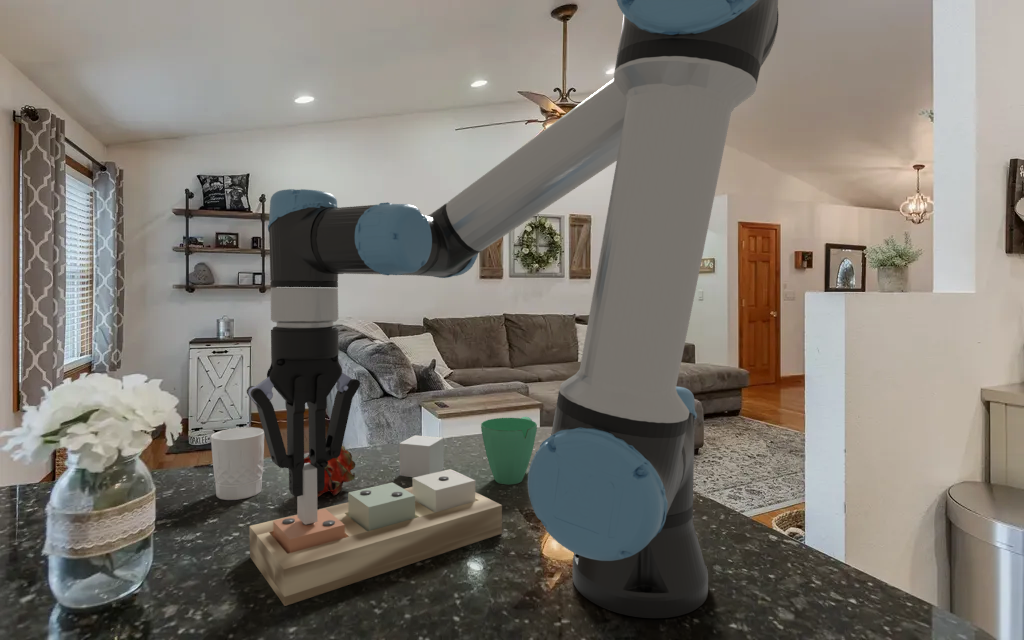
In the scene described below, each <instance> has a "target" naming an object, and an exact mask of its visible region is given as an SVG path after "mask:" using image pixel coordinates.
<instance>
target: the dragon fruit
mask: <svg viewBox="0 0 1024 640" xmlns="http://www.w3.org/2000/svg"><path fill="white" fill-rule="evenodd" d="M352 457H353V454H352V453H351V452H350V451H348V449H346V447H345V446H344V445H342V448H341V453H340V456H339V457H337V458H333V459H331V460H329V461H327V462H328V465H327V466H326V467H325V487H324V490H323V491H319V492H317V498H319V497H321V496H322V495H323V494H324V493H327V492H330V493H331V494H332V496H334V497H335V496H337V495H338V494H339V493H340V492H341V491H342V490H343V484H344V483H350V482H351V481H354V480H355V477H356V474H355V472H353V473H352V470H354V469H355V467H356V463H355V461H354V460H353V458H352ZM304 463H310V464H311V461H310V459H309V454H308V455H307V456H306V457H304Z"/></svg>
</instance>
